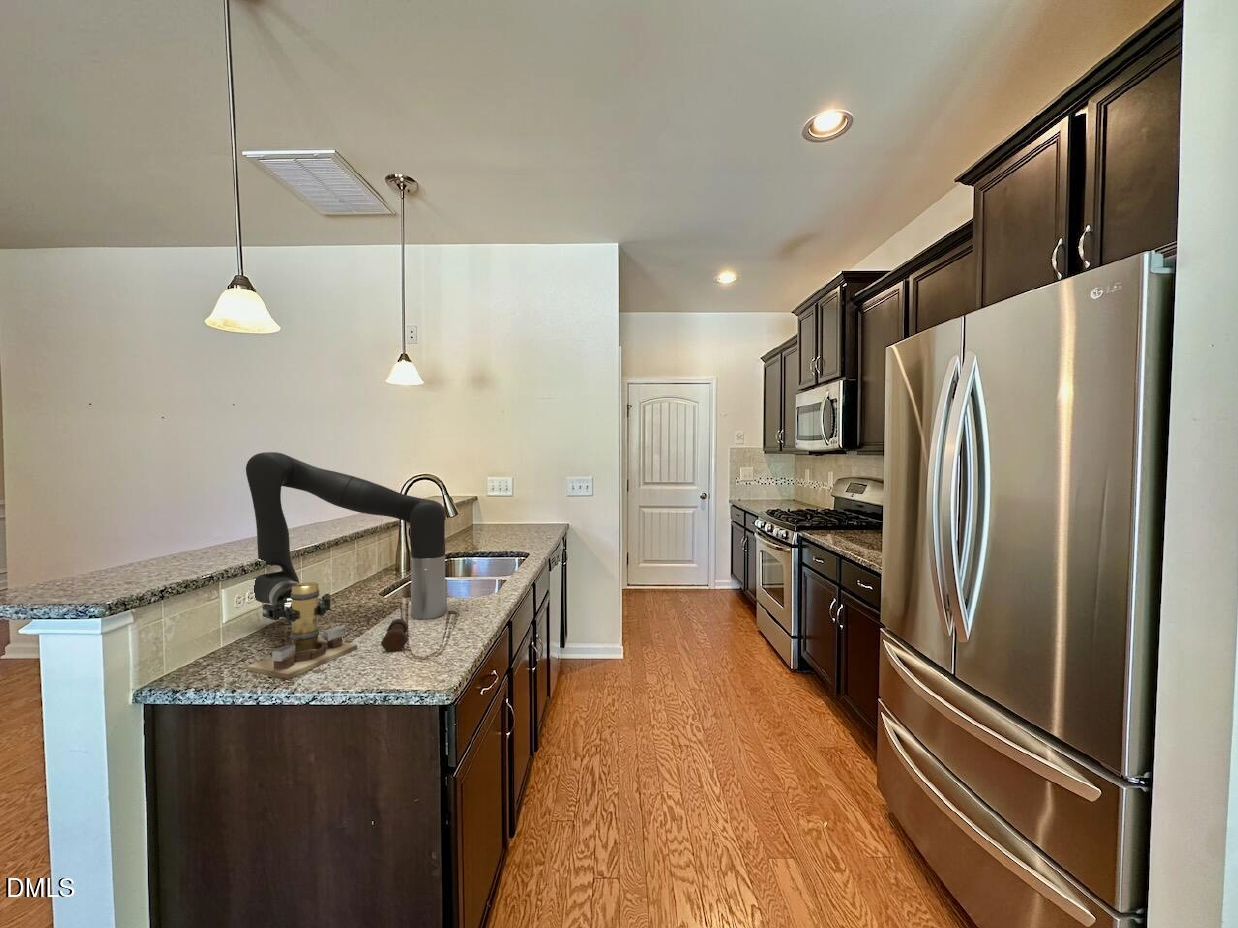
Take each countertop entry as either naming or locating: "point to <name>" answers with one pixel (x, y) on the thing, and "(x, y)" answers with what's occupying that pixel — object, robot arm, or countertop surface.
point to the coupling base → (300, 665)
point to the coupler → (305, 616)
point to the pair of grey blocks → (289, 649)
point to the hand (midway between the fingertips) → (308, 614)
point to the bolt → (395, 636)
